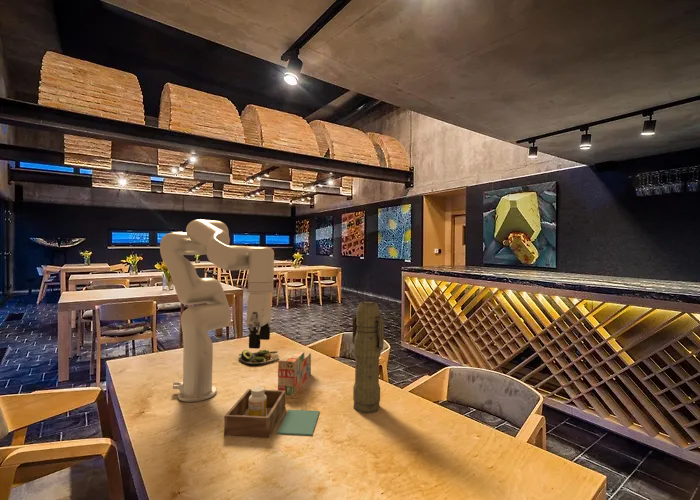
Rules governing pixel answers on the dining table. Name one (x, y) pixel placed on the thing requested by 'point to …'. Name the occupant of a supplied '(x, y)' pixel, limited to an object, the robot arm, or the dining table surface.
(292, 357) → the stack of blocks
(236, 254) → the robot arm
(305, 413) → the zone mat
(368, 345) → the olive tall figure
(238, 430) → the box
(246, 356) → the salad plate
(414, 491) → the dining table surface
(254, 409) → the supplement bottle
